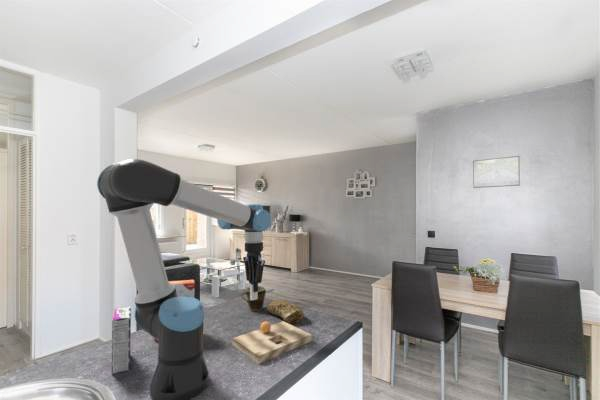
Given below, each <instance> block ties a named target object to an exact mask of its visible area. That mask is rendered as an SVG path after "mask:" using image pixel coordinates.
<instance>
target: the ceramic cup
mask: <svg viewBox="0 0 600 400" xmlns="http://www.w3.org/2000/svg"><path fill="white" fill-rule="evenodd" d="M266 292H267V288H266V287H265V286H260V285H258V299H256V300H250V286H249V287H246V288H245V291H244V292H242V293H241V295H240V296H241V298H242V299H243V300H244V301H245V302H246V303H247V305H248V310H249V311H251V312H259V311H262V310H263V308H264V301H265V297H266ZM244 294H245V295H246V298H244V297H243V295H244Z"/></svg>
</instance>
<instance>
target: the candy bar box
mask: <svg viewBox="0 0 600 400" xmlns="http://www.w3.org/2000/svg"><path fill="white" fill-rule="evenodd" d="M111 324H112V328H111V329H112V331H111V336H112V337H111V339H112V340H111V375H116V374H119V373H123V372H124V373H125V372H127V371H130V369H131V345H132V344H131V338H132V337H131V336H132V333H131V332H132V331H131V330H132V329H131V328H132V306H125V307H118V308H114V312H113V316H112V323H111Z"/></svg>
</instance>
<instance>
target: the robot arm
mask: <svg viewBox="0 0 600 400" xmlns="http://www.w3.org/2000/svg"><path fill="white" fill-rule="evenodd" d="M96 185H97V190H98V193H99V194H100V196H102V198H104V200H105V202H106V205H107V209H108V213H109V214H111V215H113V216H115V217H116V218H117V221H118V226H119V229H120V232H121V235H122V240H123V243H124V246H125V249H126V253H127V257H128V262H129V264H130V269H131V271H132V274H133V275H132V276H133V278H134V283H135V286H136V289H137V294H136V295H135V297H134V300H133V301H134V304H135V307H134V320H135V322H136V324H137V325H138V327H139V328H140V329H141V330H142V331H144V332H146V333H147V334H148V335H150V336H151V337H153V339H154V338H155V339H157V340H156V341H158V353H157V354H158V357H157V358H158V359H157V360H158V361H157V365H156V368H155V370H154V374H153V376H152V379H151V383H150V388H149V390H150V392H149V393H150V398H151V399H153V400H191V399H194V398H196V397H197V396H199V395H201V393H203V392H204V391H205V390H206V388H207V387H208V386H209V383H210V382H209V381H210V380H209V379H210V374H209V369H208V366H207V363H206V360H205V357H204V352H203V351H204V320H205V312H204V305H203V303H202V301H201V300H199V299H198V298H196V297H194V298H192V297H189V298H188V297H178V296H177V292H176V288H175V285H174V284H171V283H169V282H168V281H169V279H168V275H167V272H166V268H165V263H164V259H163V257H162V252H161V249H160V245H159V240H158V237H157V233H156V229H155V226H154V222H153V218H152V214H151V209H152V207H153V205H154V204H156V205H160V206H164V207H169V206H170V205H172V206H176V207H179V208H182V209H185V210H188V211H191V212H194V213H197V214H200V215H203V216H207V217H210V218H213V219H216V220H217V221H216V222H217V225H218V228H220V229H221V230H228V231H229V230H241V231H244V252H246V256H243V258H242V260H243V262H244V270H245V278H246V281H247V282H248V283H249V287H250V300H256V299H258V286H259V284H260V283H262V280H263V273H264V267H265V264H266V259H265V260H263V259H262V252H263V251H264V243H263V241H264V232H265V231H267V230H268V229H269V228H270V226H271V224H272V216H271V214H270V212H269V211H268V210H266V209H264V207H263V205H262V204H258V203H257V204H251V203H250V204H248V203H247V204H244V203H241V202H238V201H236V200H233V199H231V198H228V197H226V196H224V195H221V194H218V193H216V192H214V191H211V190H208V189H206V188H204V187H202V186H199V185H196V184H193V183H191V182H188V181H186V180H184V179H182V177H181V175H180V174H178V173H177V172H174V171H171V170H170V169H167V168H164V167H162V166H160V165H157V164H154V163H152V162H150V161H147V160H144V159H138V158H130V159H125V160H123V161H118V162H115V163H112V164H110V165H108V166H107V167H105V168H104V169H103V170H102V171H101V172H100V173H99V175H98V177H97V181H96Z"/></svg>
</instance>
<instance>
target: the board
mask: <svg viewBox="0 0 600 400" xmlns="http://www.w3.org/2000/svg"><path fill="white" fill-rule="evenodd" d="M270 325H271V329H270V331H269V332H267V333H264V332H262V331H261V328H259V329H256V330H252V331H250V332H248V333H243V334H240V335H239V336H236V337H232V343H231V345H232V346H233V347H235V348H236V349H237V350H238V351H240V352H241V353H243V354H244V355H245V356H247V357H248V358H249V359H251V360H252V361H254V362H255V363H256V364H258V365H260V364H262V363H264V362H266V361H269V360H271V359H273V358H276V357H279V356H281V355H283V354H285V353H288V352H289V351H292V350H295V349H297V348H298V347H301V346H304V345H306V344H308V343H310V342H312V339H313V338H312V336H313V335H312V334H311V333H309V332H307V331H305V330H304V329H300V328H298V327H296V326H294V325H292V324H291V323H288V322H286V321H285V320H284V321H279V322H277V323H274V324H270Z"/></svg>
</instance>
